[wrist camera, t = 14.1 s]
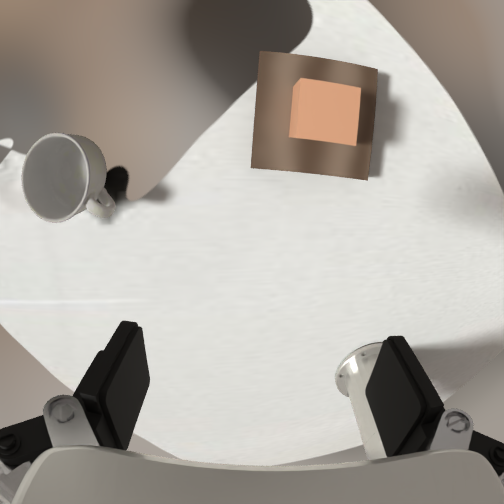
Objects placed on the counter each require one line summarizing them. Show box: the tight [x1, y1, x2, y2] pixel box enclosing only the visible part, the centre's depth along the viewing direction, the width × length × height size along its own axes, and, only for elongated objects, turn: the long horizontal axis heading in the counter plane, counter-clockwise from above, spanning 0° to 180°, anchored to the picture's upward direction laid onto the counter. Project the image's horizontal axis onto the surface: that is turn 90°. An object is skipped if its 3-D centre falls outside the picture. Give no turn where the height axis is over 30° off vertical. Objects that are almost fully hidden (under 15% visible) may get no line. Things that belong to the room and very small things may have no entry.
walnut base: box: [251, 51, 378, 181], centre depth 34 cm, size 14×14×3 cm
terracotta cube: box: [289, 78, 361, 146], centre depth 30 cm, size 6×6×6 cm
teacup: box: [21, 133, 115, 223], centre depth 35 cm, size 14×11×8 cm
